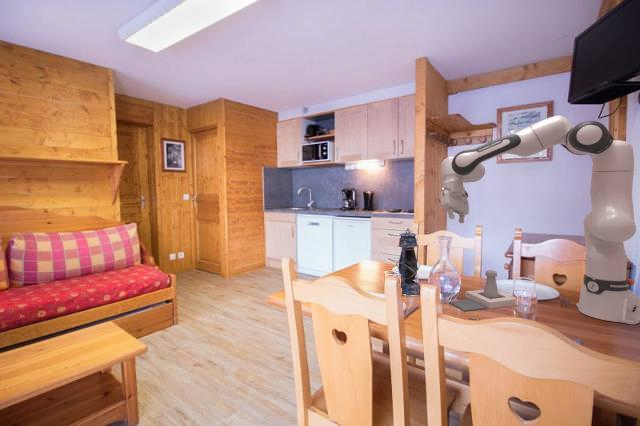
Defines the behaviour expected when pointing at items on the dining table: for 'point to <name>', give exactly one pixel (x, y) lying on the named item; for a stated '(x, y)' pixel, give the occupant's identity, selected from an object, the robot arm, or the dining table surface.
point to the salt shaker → (491, 285)
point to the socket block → (490, 303)
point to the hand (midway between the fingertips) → (456, 220)
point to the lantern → (408, 264)
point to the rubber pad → (467, 305)
